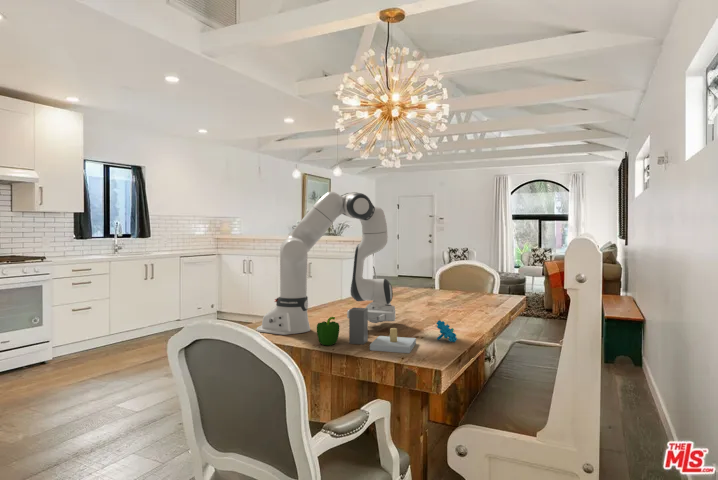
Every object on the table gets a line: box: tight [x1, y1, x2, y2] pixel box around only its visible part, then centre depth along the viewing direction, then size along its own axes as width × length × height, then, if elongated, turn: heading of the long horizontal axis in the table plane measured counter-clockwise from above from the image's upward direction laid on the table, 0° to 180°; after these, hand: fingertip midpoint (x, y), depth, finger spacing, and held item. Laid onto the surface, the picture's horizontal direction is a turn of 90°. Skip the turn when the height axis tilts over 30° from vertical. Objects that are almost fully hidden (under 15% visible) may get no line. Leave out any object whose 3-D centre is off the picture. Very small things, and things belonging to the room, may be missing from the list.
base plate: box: [369, 327, 417, 354], centre depth 162 cm, size 14×14×6 cm
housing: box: [348, 307, 369, 345], centre depth 169 cm, size 6×6×12 cm
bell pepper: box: [316, 316, 340, 346], centre depth 166 cm, size 8×8×10 cm
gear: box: [435, 319, 458, 343], centre depth 173 cm, size 11×6×10 cm
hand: (366, 318), depth 181 cm, fingers open, 8 cm apart
